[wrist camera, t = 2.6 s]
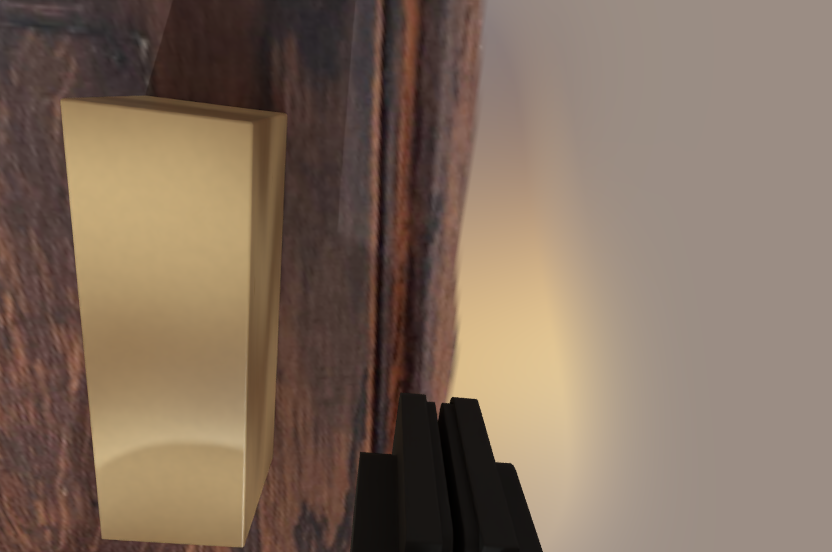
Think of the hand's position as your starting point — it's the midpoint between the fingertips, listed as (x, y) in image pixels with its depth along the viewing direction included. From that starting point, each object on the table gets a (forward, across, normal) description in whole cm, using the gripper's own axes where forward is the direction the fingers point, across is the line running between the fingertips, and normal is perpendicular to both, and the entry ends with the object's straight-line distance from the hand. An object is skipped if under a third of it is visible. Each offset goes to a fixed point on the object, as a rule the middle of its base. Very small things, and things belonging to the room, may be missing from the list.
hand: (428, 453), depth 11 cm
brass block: (+6, +6, 0) cm, 9 cm away
